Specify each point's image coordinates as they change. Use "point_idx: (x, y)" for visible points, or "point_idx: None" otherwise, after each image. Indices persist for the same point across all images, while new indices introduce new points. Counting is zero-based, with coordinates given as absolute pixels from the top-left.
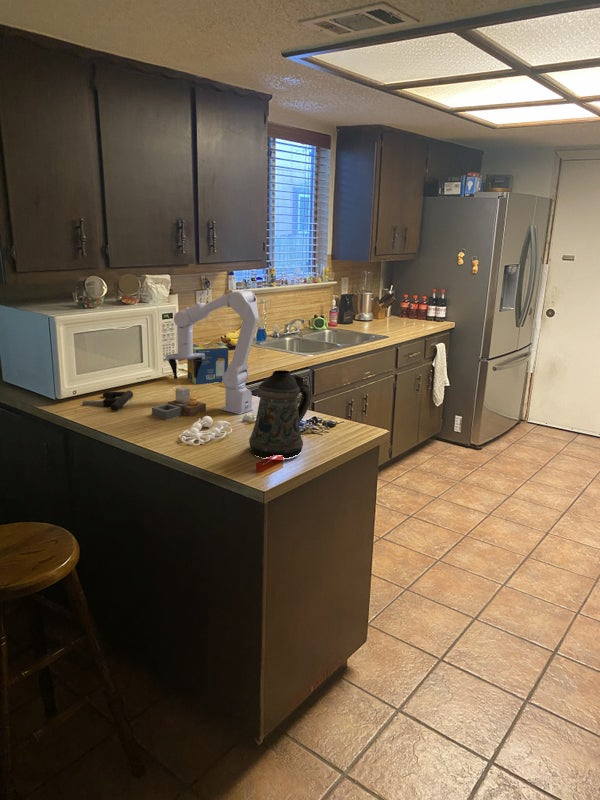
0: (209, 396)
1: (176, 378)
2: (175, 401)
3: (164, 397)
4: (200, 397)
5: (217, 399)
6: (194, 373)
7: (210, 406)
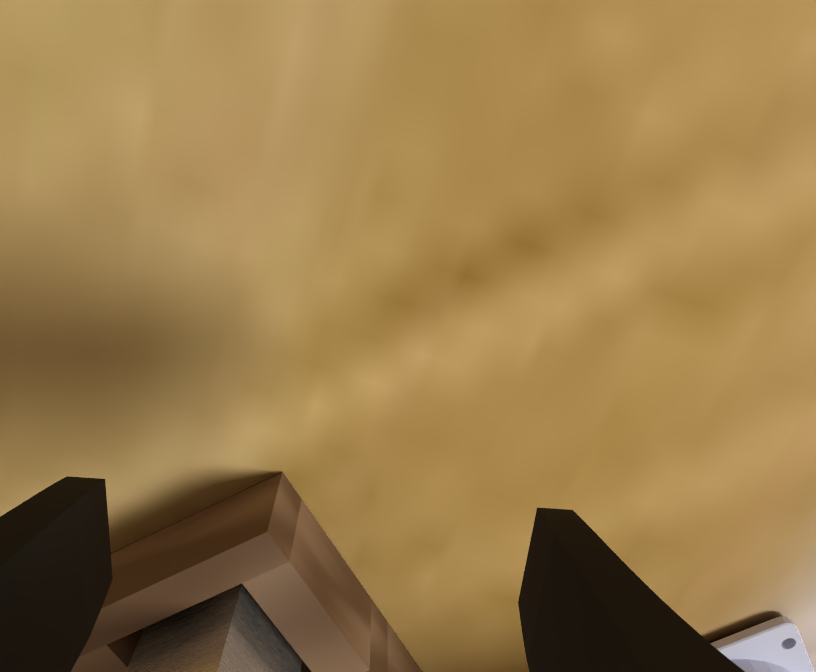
0: (733, 208)
1: (97, 593)
2: (137, 628)
3: (99, 39)
4: (599, 216)
5: (751, 370)
6: (552, 605)
7: None
